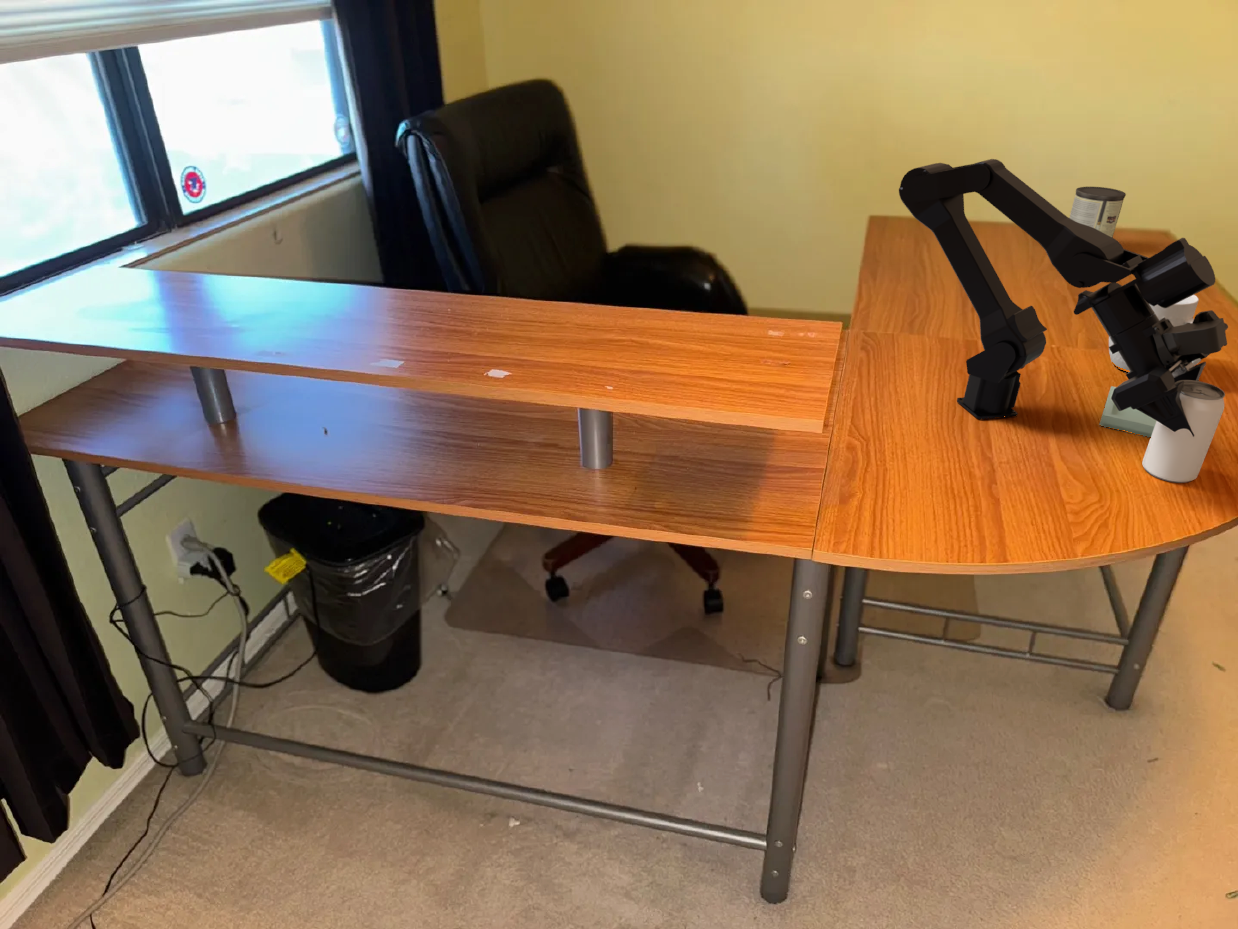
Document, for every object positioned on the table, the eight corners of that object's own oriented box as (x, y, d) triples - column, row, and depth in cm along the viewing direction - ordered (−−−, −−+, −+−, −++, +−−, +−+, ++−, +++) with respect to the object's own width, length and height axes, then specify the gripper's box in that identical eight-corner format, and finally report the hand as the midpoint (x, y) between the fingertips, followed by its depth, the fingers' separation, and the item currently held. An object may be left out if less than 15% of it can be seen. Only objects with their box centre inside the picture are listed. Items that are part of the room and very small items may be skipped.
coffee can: (1069, 243, 215) (1085, 184, 208) (1114, 252, 209) (1132, 191, 202) (1053, 251, 208) (1069, 190, 201) (1099, 260, 202) (1117, 198, 195)
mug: (1209, 381, 143) (1238, 303, 136) (1173, 396, 137) (1202, 316, 131) (1121, 351, 154) (1144, 278, 147) (1084, 363, 148) (1107, 288, 142)
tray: (1193, 447, 122) (1197, 436, 122) (1098, 425, 128) (1102, 414, 127) (1196, 415, 131) (1200, 404, 130) (1107, 396, 137) (1111, 386, 136)
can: (1195, 489, 112) (1228, 405, 106) (1138, 475, 115) (1168, 392, 109) (1197, 467, 117) (1229, 385, 111) (1143, 454, 120) (1171, 374, 114)
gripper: (1171, 311, 101) (1244, 428, 100) (1218, 278, 113) (1285, 383, 112) (1082, 355, 110) (1149, 464, 109) (1134, 320, 122) (1195, 418, 120)
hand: (1197, 430), depth 112 cm, fingers closed on can, 5 cm apart
